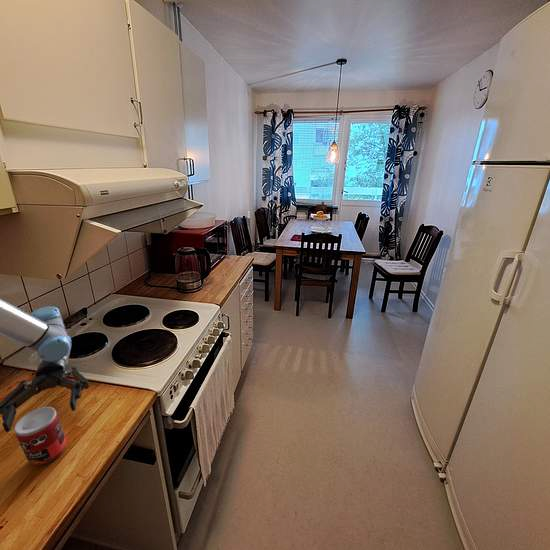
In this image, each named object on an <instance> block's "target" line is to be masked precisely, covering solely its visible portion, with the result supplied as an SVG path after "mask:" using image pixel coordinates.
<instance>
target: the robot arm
mask: <svg viewBox="0 0 550 550" xmlns="http://www.w3.org/2000/svg"><path fill="white" fill-rule="evenodd" d="M0 336H2V337H4V338H7V339H9V340H10V341H13V342H16V343H17V344H20V345H22V346H24V347H26V348H28V349H31V350H33V351H36V354H37V355H38V357H39V358H40V359H39V362H38V366H37V368H36V371H35V376H34V378H33V379H32V380H29V381H26V380H25V379H23V380H21V381H20V382H19V383H18V385H17V386H16V387H15V388H14V389H13V390H12V391H11V392H10V393H8V395H6V396H5V398H4V399H2V400H1V401H0V415H1V418H2V421H3V422H2V425H1V426H2V427H3V430H4V431H5V433H9V432H11V429H12V426H13V423H14V420H15V419H16V414H17V409H18V408H20V407H21V406H22V405H24V404H25V403H26V402H28V401H29V400H30V399H31V398H32V397H34V396H37V395H38V394H40V393H41V392H43V391H47V390H49V389H53V388H56V387H59V388H65V389H68V390H71V392H70V398H69V406H70V409H71V412H75V411H76V409H77V400H80V399H81V398H82V392H83V390H84V389H85V390H88V389H89V388H90V384H89V380H88V379H87V378H86V377H85V376H84V375H83V374H81V372H79V371H78V367H77V366H73V367H72V368H71V369H70V370H68V366H69V365H68V364H69V360H70V354H71V350H72V346H73V345H72V339H71V337H70V336H69V335H68V333H67V331H66V327H65V324H64V321H63V317H62V313H61V312H60V309H59V308H58V307H56V306H43V307H41V308H38V309H35V310H34V311H32V312H31V314H30V313H28V312H26V311H24V310H23V309H22V308H19V307H16V306H15V305H13V304H12V303H10V302H8V301H6V300H4V299H2V298H0ZM68 377H71V379H70V378H68Z"/></svg>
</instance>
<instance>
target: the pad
mask: <svg viewBox="0 0 550 550" xmlns="http://www.w3.org/2000/svg"><path fill="white" fill-rule="evenodd" d="M63 452H64V450H63V451H62V452H61V453H60V454H59V455H58V456H57V457H56V458H54V459H53V460H51V461H49V462H47V463H45V464H42V465H37V466H38V467H44V466H47V465H49V464H52V463H53V462H55V461H56V460H57V459H58V458H60V457H61V455H62V454H63Z"/></svg>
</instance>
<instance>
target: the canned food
mask: <svg viewBox="0 0 550 550" xmlns="http://www.w3.org/2000/svg"><path fill="white" fill-rule="evenodd" d="M13 430H14V434H15V437H16V439H17V441H18V443H19V445H20V447H21V449H22V451H23V454H24V457H26V460H27V462H28V463H29V464H31V465H33V466H38V465H42V464H45V463H47V462H49V461H51V460H53V459H54V458H56V457H57V456H58V455H59V454H60V453H61V452H62V451H63V452H64V449H65V448H66V444H67V438H66V435H65V432H64V429H63V427H62V424H61V421H60V419H59V415H58V414H57V411H56V409H55V408H54V407H51V406H44V407H40V408H39V407H38V408H36V409H34V410H32V411H30V412H28V413H26V414H25V415H23V416H22V417H21V418H20V419H19V420H18V421H17V422H16V423H15V425H14V428H13ZM63 452H62V453H63Z"/></svg>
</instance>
